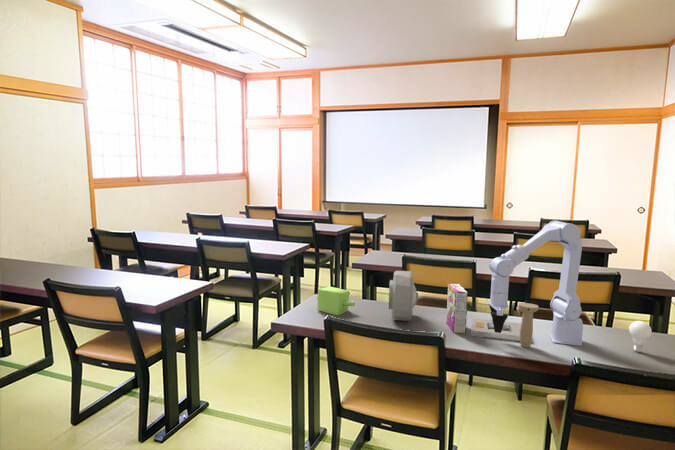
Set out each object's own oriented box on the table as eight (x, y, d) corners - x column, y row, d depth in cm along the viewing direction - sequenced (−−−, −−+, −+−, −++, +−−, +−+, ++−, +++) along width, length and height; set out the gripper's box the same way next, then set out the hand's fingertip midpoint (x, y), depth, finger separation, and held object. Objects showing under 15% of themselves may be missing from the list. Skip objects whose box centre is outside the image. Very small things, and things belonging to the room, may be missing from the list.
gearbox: (359, 312, 186) (360, 291, 185) (347, 318, 178) (348, 296, 177) (324, 304, 196) (325, 283, 195) (312, 309, 187) (313, 287, 186)
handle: (515, 342, 156) (518, 302, 154) (534, 345, 154) (538, 304, 152) (515, 347, 152) (518, 306, 150) (535, 350, 149) (539, 308, 147)
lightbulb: (639, 347, 153) (643, 318, 151) (653, 355, 146) (657, 324, 145) (622, 347, 152) (625, 318, 151) (635, 355, 146) (638, 324, 145)
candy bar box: (445, 322, 174) (447, 283, 172) (457, 323, 174) (459, 283, 172) (452, 333, 163) (455, 291, 161) (466, 333, 163) (468, 291, 161)
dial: (417, 329, 167) (420, 278, 164) (387, 326, 169) (389, 277, 166) (416, 311, 187) (418, 266, 184) (389, 309, 189) (391, 265, 186)
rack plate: (524, 328, 169) (524, 323, 169) (529, 342, 156) (530, 336, 156) (471, 322, 175) (471, 317, 174) (471, 335, 161) (472, 330, 161)
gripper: (486, 285, 161) (484, 320, 163) (488, 296, 147) (486, 334, 149) (506, 286, 159) (504, 322, 161) (510, 298, 145) (508, 337, 147)
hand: (496, 328), depth 155 cm, fingers open, 7 cm apart
